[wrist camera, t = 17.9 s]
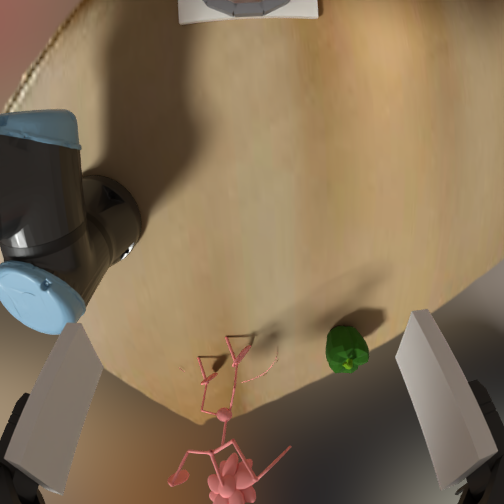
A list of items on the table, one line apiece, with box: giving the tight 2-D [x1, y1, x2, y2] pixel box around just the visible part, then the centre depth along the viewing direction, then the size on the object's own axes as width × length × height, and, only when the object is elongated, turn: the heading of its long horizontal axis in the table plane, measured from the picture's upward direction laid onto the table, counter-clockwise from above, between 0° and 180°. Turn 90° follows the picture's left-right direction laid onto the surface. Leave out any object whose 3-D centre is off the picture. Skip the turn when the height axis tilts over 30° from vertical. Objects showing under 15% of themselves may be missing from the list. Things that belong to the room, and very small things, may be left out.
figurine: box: [168, 337, 291, 504], centre depth 52 cm, size 15×26×35 cm, turn 136°
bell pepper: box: [326, 326, 369, 373], centre depth 58 cm, size 8×8×10 cm
